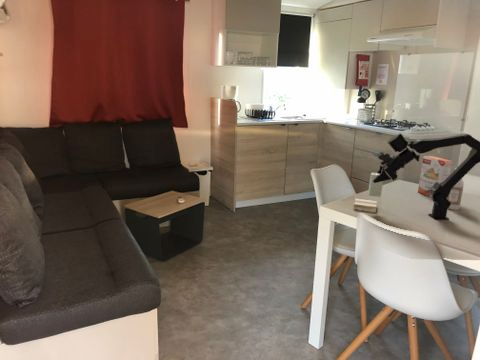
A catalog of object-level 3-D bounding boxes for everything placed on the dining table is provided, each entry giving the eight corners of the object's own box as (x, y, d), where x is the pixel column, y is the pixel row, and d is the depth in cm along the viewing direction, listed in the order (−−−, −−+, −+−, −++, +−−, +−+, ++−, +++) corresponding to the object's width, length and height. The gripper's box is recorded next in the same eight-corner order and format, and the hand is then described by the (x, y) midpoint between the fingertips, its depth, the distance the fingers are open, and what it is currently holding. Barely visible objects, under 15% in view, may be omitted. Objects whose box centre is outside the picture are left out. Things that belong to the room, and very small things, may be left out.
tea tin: (380, 196, 185) (383, 175, 182) (369, 195, 186) (372, 174, 183) (379, 194, 190) (382, 173, 187) (368, 192, 191) (371, 172, 188)
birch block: (375, 213, 188) (376, 207, 187) (353, 210, 191) (354, 204, 190) (375, 207, 197) (376, 201, 196) (354, 204, 200) (355, 198, 199)
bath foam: (443, 208, 198) (450, 168, 193) (444, 204, 204) (450, 166, 199) (459, 211, 195) (466, 170, 190) (459, 207, 201) (466, 168, 196)
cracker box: (417, 192, 225) (422, 155, 220) (424, 191, 227) (430, 155, 222) (438, 199, 213) (445, 161, 207) (446, 198, 215) (453, 160, 210)
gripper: (387, 143, 190) (360, 163, 195) (393, 149, 172) (363, 172, 177) (402, 161, 190) (375, 181, 195) (409, 169, 173) (379, 191, 178)
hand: (372, 180), depth 186 cm, fingers closed on tea tin, 5 cm apart
